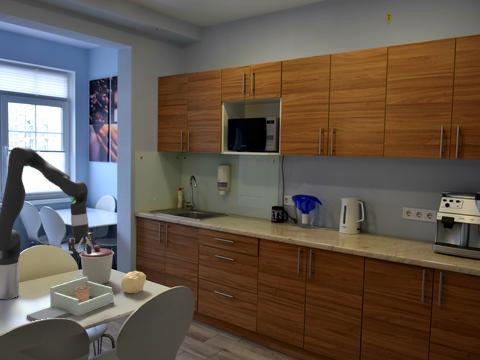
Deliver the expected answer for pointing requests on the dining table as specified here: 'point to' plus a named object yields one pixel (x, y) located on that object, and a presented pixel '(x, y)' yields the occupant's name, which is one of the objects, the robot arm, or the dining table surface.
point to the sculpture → (133, 282)
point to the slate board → (47, 314)
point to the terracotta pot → (82, 293)
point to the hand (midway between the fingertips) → (82, 256)
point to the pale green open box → (67, 301)
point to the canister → (97, 265)
